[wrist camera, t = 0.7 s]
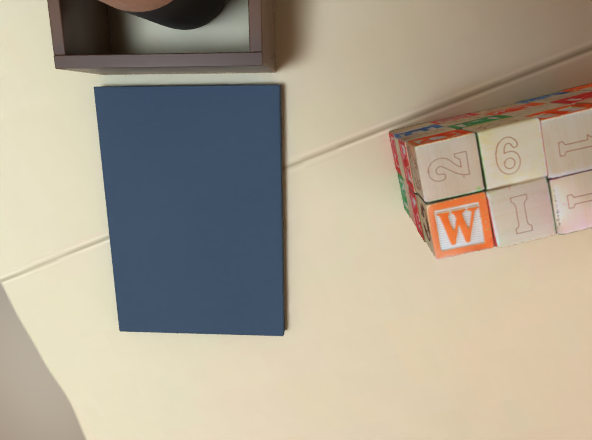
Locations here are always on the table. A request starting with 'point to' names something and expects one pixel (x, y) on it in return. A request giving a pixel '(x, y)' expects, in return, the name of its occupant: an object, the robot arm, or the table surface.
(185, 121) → the mat
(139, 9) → the travel mug
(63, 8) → the cube shelf
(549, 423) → the table surface
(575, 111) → the stack of blocks
